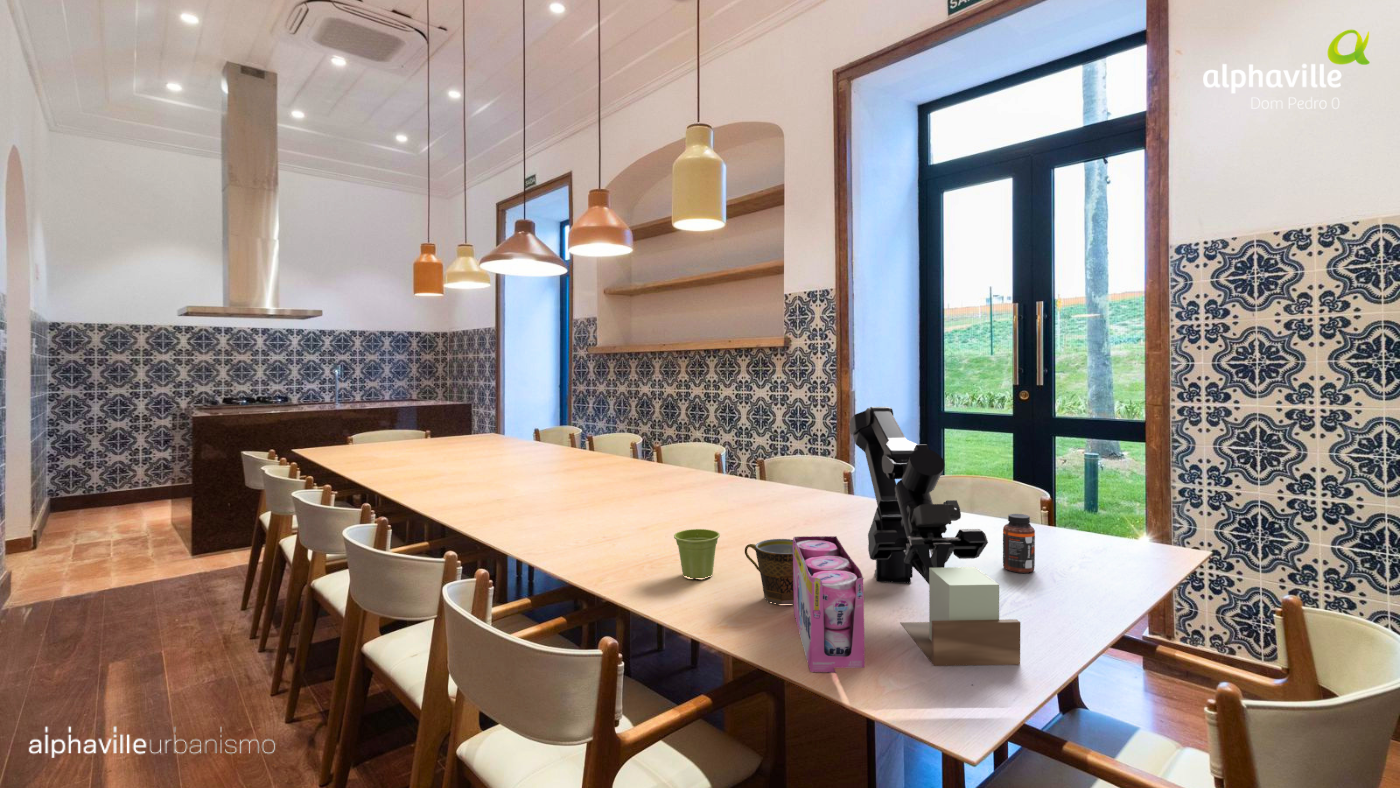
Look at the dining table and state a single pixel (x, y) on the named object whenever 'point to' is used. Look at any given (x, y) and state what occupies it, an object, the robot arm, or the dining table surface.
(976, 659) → the brown box
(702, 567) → the plant pot
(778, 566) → the ceramic cup
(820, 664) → the gum box
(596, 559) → the dining table surface
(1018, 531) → the supplement bottle
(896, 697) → the dining table surface
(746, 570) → the dining table surface
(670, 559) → the dining table surface
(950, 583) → the sage block
